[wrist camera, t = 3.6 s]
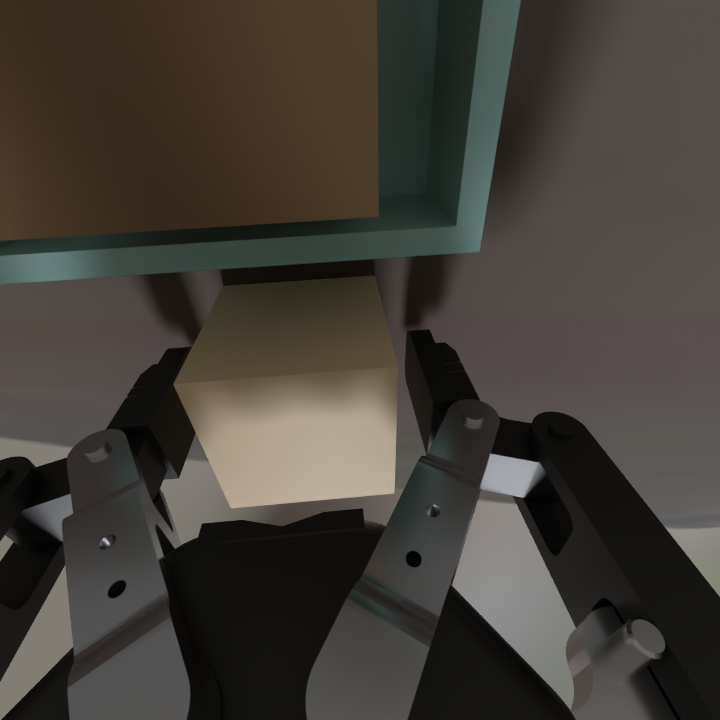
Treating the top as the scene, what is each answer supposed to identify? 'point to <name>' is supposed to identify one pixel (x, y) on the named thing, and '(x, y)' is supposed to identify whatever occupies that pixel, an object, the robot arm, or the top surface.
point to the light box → (295, 391)
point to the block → (185, 114)
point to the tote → (395, 164)
